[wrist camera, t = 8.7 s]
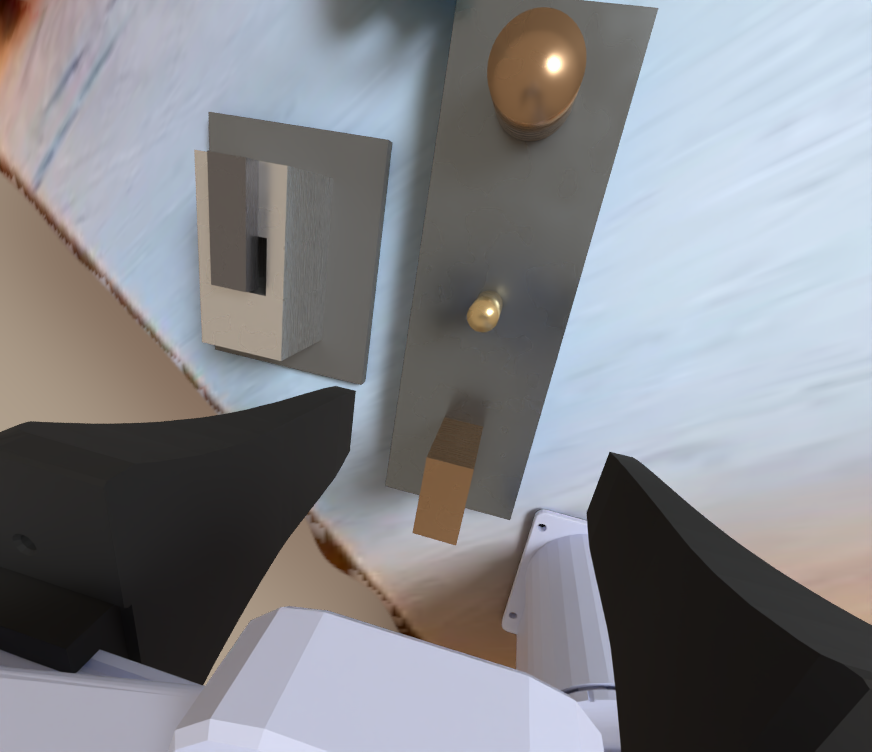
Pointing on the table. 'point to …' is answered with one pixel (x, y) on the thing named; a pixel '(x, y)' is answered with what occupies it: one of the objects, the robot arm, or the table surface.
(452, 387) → the grey base plate
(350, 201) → the flat grey panel
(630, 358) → the table surface
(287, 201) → the white slotted box
